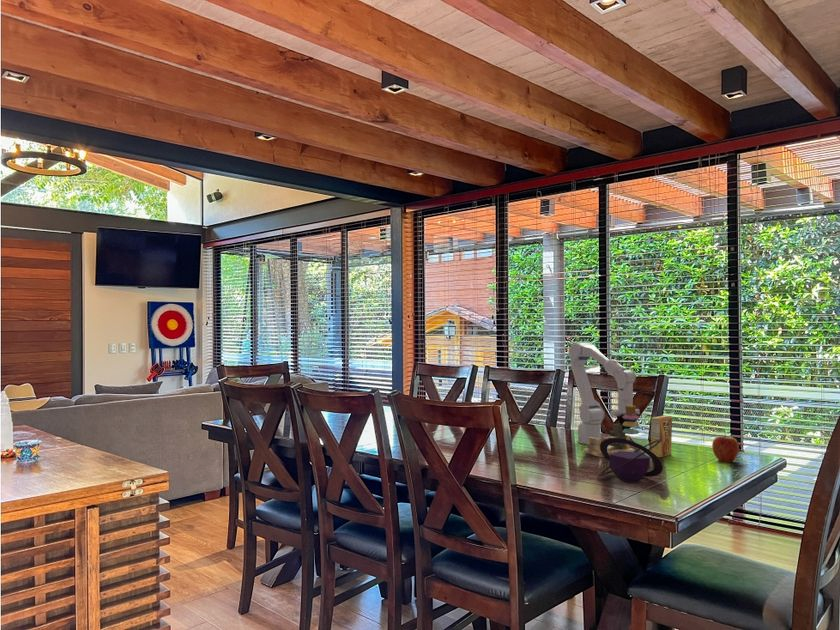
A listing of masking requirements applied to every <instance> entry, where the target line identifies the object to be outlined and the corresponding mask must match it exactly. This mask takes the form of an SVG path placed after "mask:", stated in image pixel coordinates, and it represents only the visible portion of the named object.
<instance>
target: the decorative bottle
mask: <svg viewBox="0 0 840 630" xmlns="http://www.w3.org/2000/svg"><path fill="white" fill-rule="evenodd" d="M625 409H626V414H625V413H624V414H625V415H624V416H623V418H624V419H630V420H632V422H626V421H625V422H624V423H623V424H622V425H623V426H627V427H630V428H629V429H624V430H623V431H622V433H625V435H638V434H640V431H639V430H638V429H635V428H636V427H639V426H640V424H639V423H638V422H636V420H639V419H640V417H639V415H638V414H636V409H637V406H636V405H626V406H625ZM634 420H635V421H634ZM661 440H662V439H659V440H656V441H654V442H651V441H650V442H649V443H648V444H645V445H641V444H639V443H637V442H635V441H632V440H630V441H629V440H626V439H620V438H608V439H605V440H603V441H602V442H601V444H600V450H601V452H602V454H603V456H604V457H603V458H605V459H606V460H607V461H608V466H607V467H606V468H605V469H604V470H603V471H601V472H600V473H599V474H598V477H603V476H605V475H609V474H610V473H613V474H614V475H615V476H616V478H617V479H618V480H620V481H621V482H623V483H628V484H639V483H640V481H642V479H644V478H645V477H647V478H648V477H649V478H651V477H653V478H654V477H658V475H661V474H662V472H663V470H664V467H663V463H662V461H661V459H660V458H659V457H657V456H656V455H655V454H654V453H652V452H651V449H652V448H653V447H655V446H656V445H657V444H659V443H660V442H661ZM655 442H657V443H656V444H655V445H653V446H652V447H651V444H653V443H655ZM612 443H616V444H617V443H624V444H628V445H630V447H631V446H632V447H633V448H636V450H635V451H634V452H626V451H618V452H615V453H613V454H610V456H609V454H608V452H607V447H608V446H610V444H612ZM648 446H650V447H649V448H647V447H648ZM623 448H624V447H623ZM639 451H642V452H639ZM651 460H652V462H653V464H654V468H653V469H652V470H651V471H649V470H650V466H651V465H650V464H651ZM609 469H610V470H609ZM608 470H609V471H608Z"/></svg>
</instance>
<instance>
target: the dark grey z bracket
mask: <svg viewBox="0 0 840 630" xmlns="http://www.w3.org/2000/svg"><path fill="white" fill-rule="evenodd" d="M617 435H619V438H620V439H625V435H626V434H625V433H623V432H622V425H620V423H619V424H618V423H613V424H612V430H610V431H609V436H617ZM609 446H613V447H618V448H623V447H624V448H625V444H624V443H619V444H617V443H615V444H610V445H609Z"/></svg>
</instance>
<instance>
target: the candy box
mask: <svg viewBox="0 0 840 630" xmlns="http://www.w3.org/2000/svg"><path fill="white" fill-rule="evenodd" d="M650 420H651V422H650V423H651V425H650V427H651V429H650V433H651V435H650V443H651V442H654V441H656V440H659V439H662V440H661V442H660V443H659V444H657V445H656V446H655V447H653V448H652V449H650V451H651V452H652V453H654V454H655V455H656V456H657V457H658V458H659V457H660V458H663V457H667V456H672V440H673V439H672V438H673V437H672V435H673V433H672V432H673V431H672V430H673V417H672V416H669V415H660V416H659V415H658V416H653V417H651V419H650ZM656 443H657V442H655V443H653V444H650V448H651V447H652V446H653V445H655V444H656Z"/></svg>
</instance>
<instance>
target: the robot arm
mask: <svg viewBox="0 0 840 630" xmlns="http://www.w3.org/2000/svg"><path fill="white" fill-rule="evenodd" d="M568 354H569V357H570V360H569V361H570V368H571V371H572V374H573V377H574V381H575V385H576V387H577V391H578V394H579V396H580V400H581V404H580V405H579V407H578V409H579V419H580V420H581V422H580V423H579V424H578V426H577V440H576V443H579V444H583V445H587V446H588V437H594V438H600V437H602V436H601V433H602V432H601V431H602V430H601V426H602V422H603V420H604V419H605V411H604V409H603V408H602V406H601V404H600V402H598V401H597V400H596V399H595V397H594V394H593V390H592V387H591V384H590V380H589V377H588V373H587V371H586V368H585V364H586V363H588V361H589V359H590V358H591V359H592V360H593V359H594V360H595V361H596V362H597V363H599V364H601V365H602V366H603V367H604V368H603V369H604V371H605V372H606V373H608V374H609V375H610V376H612V378H614V379H615V383H617V385H616V387H617V389H618V390H617V392H618V393H617V395H618V396H617V409H615V410H611V411H610V416H611V417H616V418H617V420H618V422H619V425H622V424H623V423H624V422H625V421H626V422H633V420H630V419H624V418H623V416H624V415H625V414H626V409H625V406H626V405H633V404H634V403H633V401H634V400H633V399H634V390H633V389H634V383H635V382H636V379H637V375H636V373H635V372H634V370H632V369H627V367H625V366H622V365H621V364H620V363H619V362H618V360H617V359H609V358H608V357H606V356H605V355H604V354H603V353H602V352H601V351H600V350H599V349H597V347H596V345H593V344H592V343H591V342H572V344H571V345H570V346H569V349H568ZM633 406H634V405H633ZM635 415H640V408H636V414H635ZM624 429H631V427H627V426H623V425H622V431H623V430H624Z"/></svg>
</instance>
